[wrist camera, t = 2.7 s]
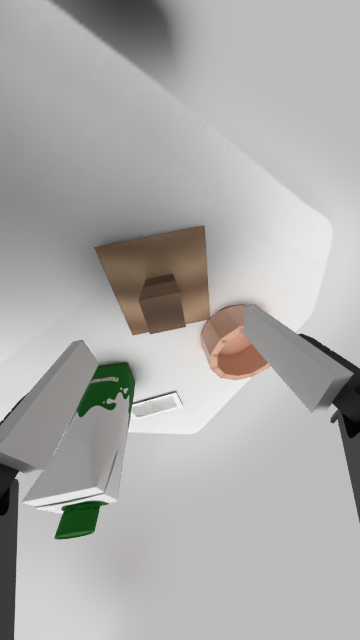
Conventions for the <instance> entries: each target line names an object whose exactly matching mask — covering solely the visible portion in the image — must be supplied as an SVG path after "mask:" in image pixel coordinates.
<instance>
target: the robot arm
mask: <svg viewBox="0 0 360 640" xmlns="http://www.w3.org/2000/svg"><path fill="white" fill-rule="evenodd" d="M243 334H244V335H245V337H246V338H247V339H248V340H249V341H250V342H251V344H252V345H253V346H254V347H255V348H256V349H257V351H258V352H259V353H260V354H261V355H262V356H263V357H264V359H265V360H266V361H267V362H268V363H269V364H270V366H272V368H273V369H274V370H275V371H276V372H277V374H278V375H279V376H280V377H281V378H282V379H283V381H284V382H285V383H286V384H287V385H288V386H289V387H290V389H291V390H292V391H293V392H294V393H295V394H296V396H297V397H298V398H299V399H300V400H301V401H302V403H303V404H304V405H305V406H306V407H307V408H308V409H309V411H310V412H311V413H315V412H320V411H325V410H327V409H328V408H329V406H330V405H331V404H334V405H335V406H336V407H337V408H338V410H337V411H336V412H335V413H334V415H333V416H332V417H331V421H330V422H331V423H334V422H335V421H336V420H337V419H338V423H339V427H340V432H341V437H342V441H343V446H344V451H345V456H346V460H347V465H348V470H349V474H350V479H351V484H352V488H353V493H354V498H355V502H356V507H357V512H358V516H359V521H360V369H359V368H358V367H357V366H355V365H353V364H352V363H350V362H349V361H347V360H346V359H344V358H343V357H341V356H340V355H338V354H337V353H335V352H333V351H331V350H330V349H329V348H327V347H326V346H323V345H322V344H321V343H320V342H318V341H317V340H315V339H313V338H311V337H309V336H306V335H304V334H296V333H295V332H293V331H292V330H290V329H289V328H288V327H286V326H285V325H283V324H282V323H280V322H279V321H278V320H276V319H275V318H273V317H272V316H270V315H269V314H268V313H266V312H265V311H263V310H262V309H260V308H259V307H258V306H256V305H250V306H246V307H245V318H244V330H243ZM98 365H99V363H98V362H97V360H96V359H95V357H94V356H93V354H92V353H91V351H90V350H89V348H88V347H87V345H86V344H85V342H84V341H83V340H79V341H74V342H72V343H71V345H70V346H69V347H68V348H67V349H66V350H65V352H64V353H63V354H62V355H61V356H60V357H59V358H58V360H57V361H56V362H55V363H54V364H53V365H52V366H51V368H50V369H49V370H48V371H47V372H46V373H45V375H44V376H43V377H42V378H41V379H40V380H39V381H38V383H37V384H36V385H35V386H34V387H33V388H32V390H31V391H30V392H29V393H28V394H27V395H25V396H24V397H23V398H22V399H21V400H20V401H19V402H18V403H17V404H16V405H15V406H14V408H13V409H12V411H11V412H9V413H8V414H7V415H6V417H5V418H4V420H3V421H1V422H0V640H14V619H15V587H16V555H17V554H16V553H17V522H18V521H17V520H18V490H19V483H18V480H17V479H14V478H15V477H16V475H17V473H18V472H19V471H20V472H23V473H26V474H34V473H39V472H43V471H45V470H46V468H47V466H48V464H49V462H50V460H51V458H52V456H53V454H54V452H55V450H56V448H57V446H58V444H59V442H60V440H61V438H62V436H63V434H64V432H65V430H66V428H67V426H68V424H69V422H70V420H71V418H72V416H73V414H74V412H75V410H76V408H77V406H78V404H79V402H80V400H81V398H82V396H83V394H84V392H85V390H86V388H87V386H88V384H89V382H90V380H91V379H92V377H93V375H94V373H95V371H96V369H97V367H98Z"/></svg>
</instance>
